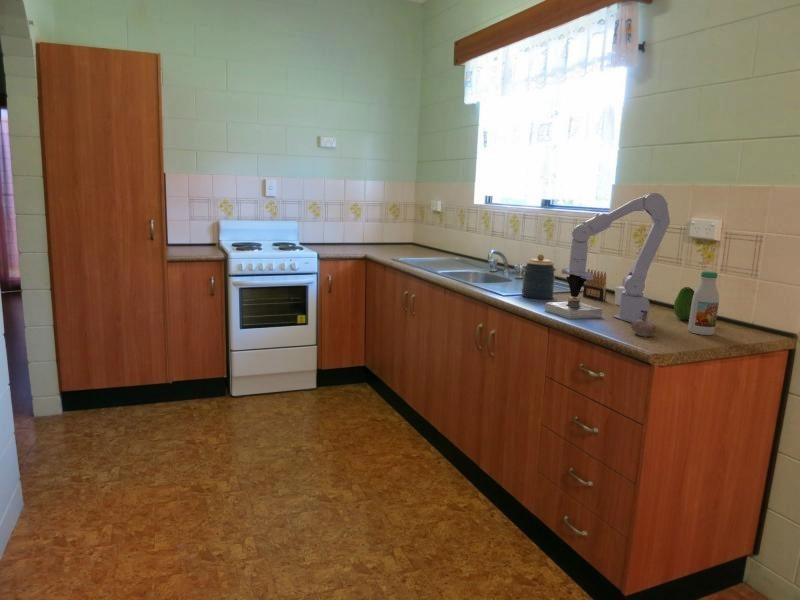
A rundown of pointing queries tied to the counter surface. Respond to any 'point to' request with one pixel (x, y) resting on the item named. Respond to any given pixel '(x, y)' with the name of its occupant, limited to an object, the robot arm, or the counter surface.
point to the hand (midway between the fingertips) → (574, 296)
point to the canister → (538, 278)
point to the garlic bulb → (643, 326)
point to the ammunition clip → (595, 286)
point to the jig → (573, 310)
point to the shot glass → (618, 294)
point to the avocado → (684, 303)
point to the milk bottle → (704, 305)
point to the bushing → (574, 302)
